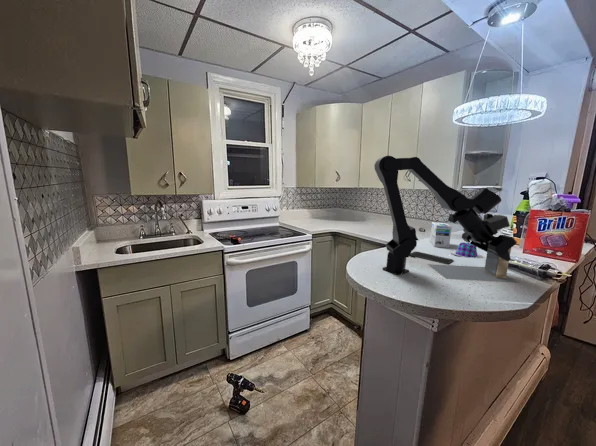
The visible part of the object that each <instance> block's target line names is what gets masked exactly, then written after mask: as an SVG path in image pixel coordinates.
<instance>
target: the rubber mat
mask: <svg viewBox="0 0 596 446" xmlns="http://www.w3.org/2000/svg"><path fill="white" fill-rule="evenodd" d="M427 266H429V267H430V268H431V269H433V270H435V272H437V273H438V274H440V276H442V277H443V278H444V279H446V280H461V281H462V280H463V281H480V282H483V281H484V282H497V283H500V282H502V283H520V281H517V280H516V279H513V278H512V277H509V276H508V275H506V278H496V277H494V276H492V275H490V274H488V273H486V272H485V271H484V269H485V266H475V265H474V266H473V265H452V264H433V263H432V264H431V263H427Z"/></svg>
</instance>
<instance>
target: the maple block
mask: <svg viewBox="0 0 596 446" xmlns="http://www.w3.org/2000/svg"><path fill="white" fill-rule="evenodd" d="M489 251H490V250H489V249H488V250H487V252H486V257H485V263H484V264H485V265H484V267H485V269H484V271H485V272H486V273H488V274H490V275H492V276H494V277H496V278H506V276H508V268H509V263H510V262H509V261H510V260H509V261H506V260H504V259H502V258H500V257H498V256H496V255H494V254H493V253H491V252H489ZM508 252H509V255H510V256H511V252H512V247H511V248H510V249H509V250H508Z"/></svg>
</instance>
